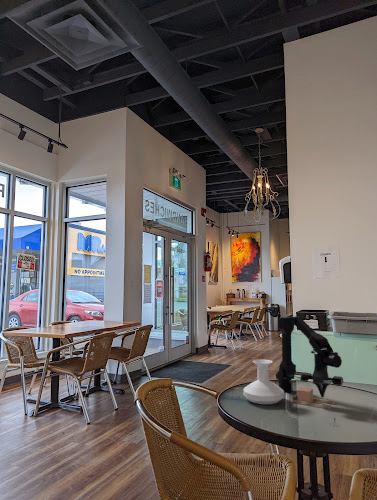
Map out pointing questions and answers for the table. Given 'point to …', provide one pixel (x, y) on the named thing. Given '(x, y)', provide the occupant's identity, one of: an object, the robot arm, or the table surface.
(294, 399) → the chute
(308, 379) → the robot arm
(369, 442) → the table surface
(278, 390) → the white vase
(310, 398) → the block
